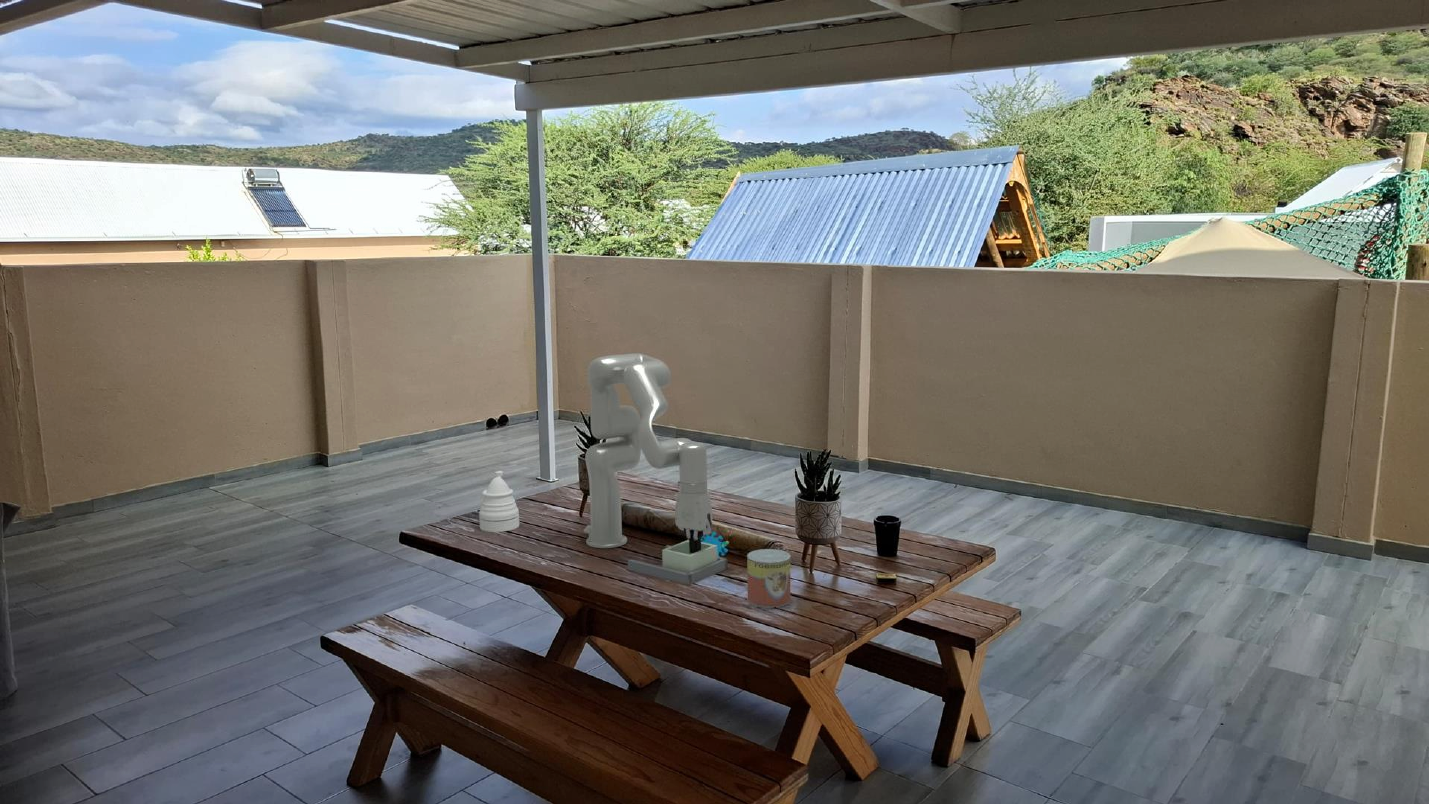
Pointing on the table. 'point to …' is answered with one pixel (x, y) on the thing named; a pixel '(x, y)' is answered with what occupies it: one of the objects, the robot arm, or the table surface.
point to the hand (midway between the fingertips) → (695, 552)
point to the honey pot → (498, 507)
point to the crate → (688, 557)
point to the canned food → (768, 578)
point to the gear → (716, 543)
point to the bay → (677, 575)
